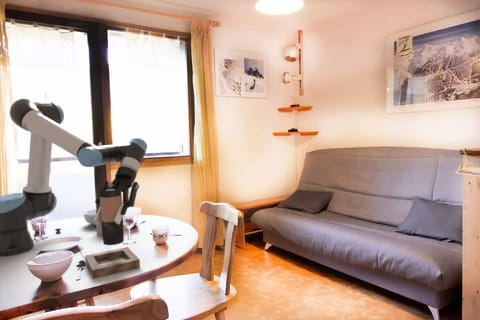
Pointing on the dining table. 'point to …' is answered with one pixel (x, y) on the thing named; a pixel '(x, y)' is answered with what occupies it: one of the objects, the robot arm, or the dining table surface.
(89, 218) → the cereal bowl
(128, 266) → the walnut collar
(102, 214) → the travel mug
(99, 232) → the cup
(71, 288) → the dining table surface
